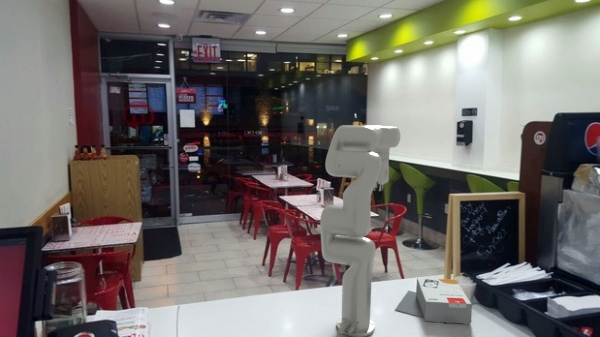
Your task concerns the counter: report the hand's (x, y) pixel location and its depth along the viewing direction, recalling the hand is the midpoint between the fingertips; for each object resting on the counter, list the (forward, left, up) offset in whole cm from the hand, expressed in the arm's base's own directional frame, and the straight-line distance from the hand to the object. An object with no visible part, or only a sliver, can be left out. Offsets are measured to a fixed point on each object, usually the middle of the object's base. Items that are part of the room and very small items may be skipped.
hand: (378, 199), depth 168 cm
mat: (-13, -24, -35) cm, 45 cm away
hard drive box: (-3, -26, -31) cm, 41 cm away
